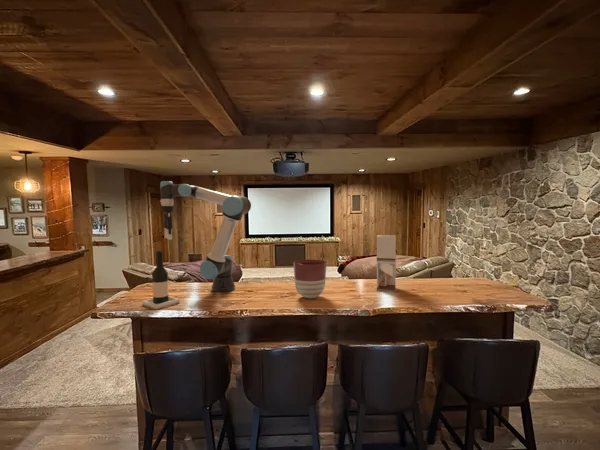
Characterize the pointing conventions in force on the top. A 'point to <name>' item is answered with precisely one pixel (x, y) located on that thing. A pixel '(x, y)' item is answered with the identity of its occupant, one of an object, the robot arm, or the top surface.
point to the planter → (310, 277)
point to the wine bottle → (160, 281)
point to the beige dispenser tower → (386, 262)
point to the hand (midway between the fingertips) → (168, 238)
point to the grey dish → (157, 306)
